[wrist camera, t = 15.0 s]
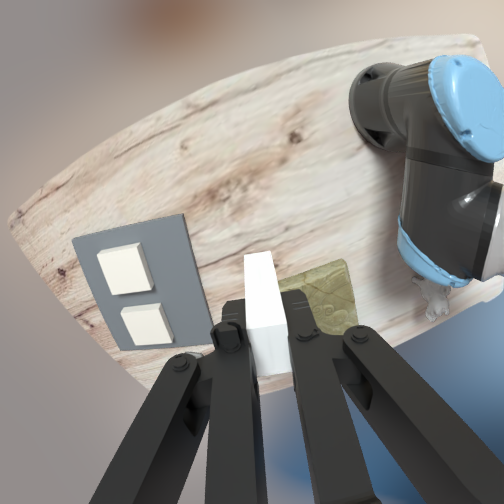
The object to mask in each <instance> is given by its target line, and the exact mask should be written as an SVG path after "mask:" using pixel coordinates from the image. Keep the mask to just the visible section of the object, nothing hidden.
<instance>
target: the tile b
mask: <svg viewBox="0 0 504 504" xmlns="http://www.w3.org/2000/svg"><path fill="white" fill-rule="evenodd" d="M120 314H121V316H122V318H123V320H124V322H125V325H126V327H127V329H128V331H129V333H130V335H131V337H132V339H133V341H134V343H135V345H151V344H165V343H172V342H173V338H174V335H173V332H172V330H171V328H170V325H169V322H168V320H167V317H166V315H165V312H164V310H163V307H162V304H161V303H156V304H148V305H139V306H131V307H124V308H123V309H122V311H121V313H120Z"/></svg>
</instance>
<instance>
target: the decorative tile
mask: <svg viewBox="0 0 504 504" xmlns="http://www.w3.org/2000/svg"><path fill="white" fill-rule="evenodd" d="M277 282H278V286H279V290H280V292H284V291H290V290H296V289H300V290H301V291H302V292H304V293H305V294H306V297H307V299H308V302H309V305H310V308H311V311H312V313H313V316H314V319H315V322H316V325H317V327H318V328H320V329H321V331H322V332H324V333H326V334H330V335H343V334H344V332H345V331H346V330H347V329H348V328H350V327H352V326H356V325H358V318H357V312H356V307H355V299H354V294H353V289H352V285H351V280H350V275H349V271H348V267H347V264H346V262H345V261H344V260H343V259H339V260H336V261H333V262H330V263H328V264H325V265H322V266H319V267H316V268H314V269H311V270H308V271H306V272H303V273H300V274H298V275H295V276H291V277H288V278H285V279H283V280H280V281H277Z"/></svg>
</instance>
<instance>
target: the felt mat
mask: <svg viewBox="0 0 504 504" xmlns="http://www.w3.org/2000/svg"><path fill="white" fill-rule="evenodd" d="M139 242H141V246H142V249H143V252H144V255H145V258H146V261H147V264H148V267H149V270H150V273H151V276H152V279H153V282H154V285H153V288H152V290H147V291H140V292H132V293H125V294H117V295H112V293H111V291H110V288H109V286H108V283H107V281H106V278H105V276H104V273H103V271H102V268H101V265H100V263H99V260H98V257H97V254H98V253H99V252H100V251H101V250H105V249H110V248H115V247H119V246H124V245H129V244H134V243H139ZM72 243H73V246H74V249H75V252H76V254H77V257H78V260H79V262H80V265H81V267H82V270H83V272H84V275H85V277H86V280H87V282H88V285H89V287H90V289H91V291H92V294H93V296H94V298H95V301H96V303H97V305H98V307H99V309H100V311H101V313H102V316H103V318H104V320H105V322H106V324H107V326H108V328H109V330H110V332H111V334H112V336H113V338H114V340H115V341H116V343H117V345H118V347H119V349H120V351H121V350H142V349H157V348H171V347H183V346H193V345H203V344H212V343H213V341H212V338H211V335H210V331H211V329H212V328H213V327H214V325H213V321H212V318H211V315H210V311H209V308H208V305H207V301H206V298H205V294H204V291H203V287H202V284H201V280H200V276H199V273H198V269H197V265H196V262H195V258H194V254H193V250H192V246H191V242H190V239H189V235H188V231H187V227H186V223H185V218H184V214H178V215H173V216H168V217H163V218H158V219H153V220H149V221H144V222H139V223H135V224H130V225H126V226H122V227H117V228H113V229H109V230H104V231H100V232H96V233H92V234H88V235H84V236H80V237H76V238H74V239H72ZM156 303H161V304H162V307H163V310H164V312H165V315H166V317H167V320H168V322H169V325H170V328H171V330H172V332H173V335H174V338H173V342H172V343H165V344H151V345H135V343H134V341H133V339H132V337H131V335H130V333H129V331H128V329H127V327H126V325H125V322H124V320H123V318H122V316H121V314H120V313H121V311H122V309H123V308H124V307H131V306H139V305H148V304H156Z"/></svg>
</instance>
